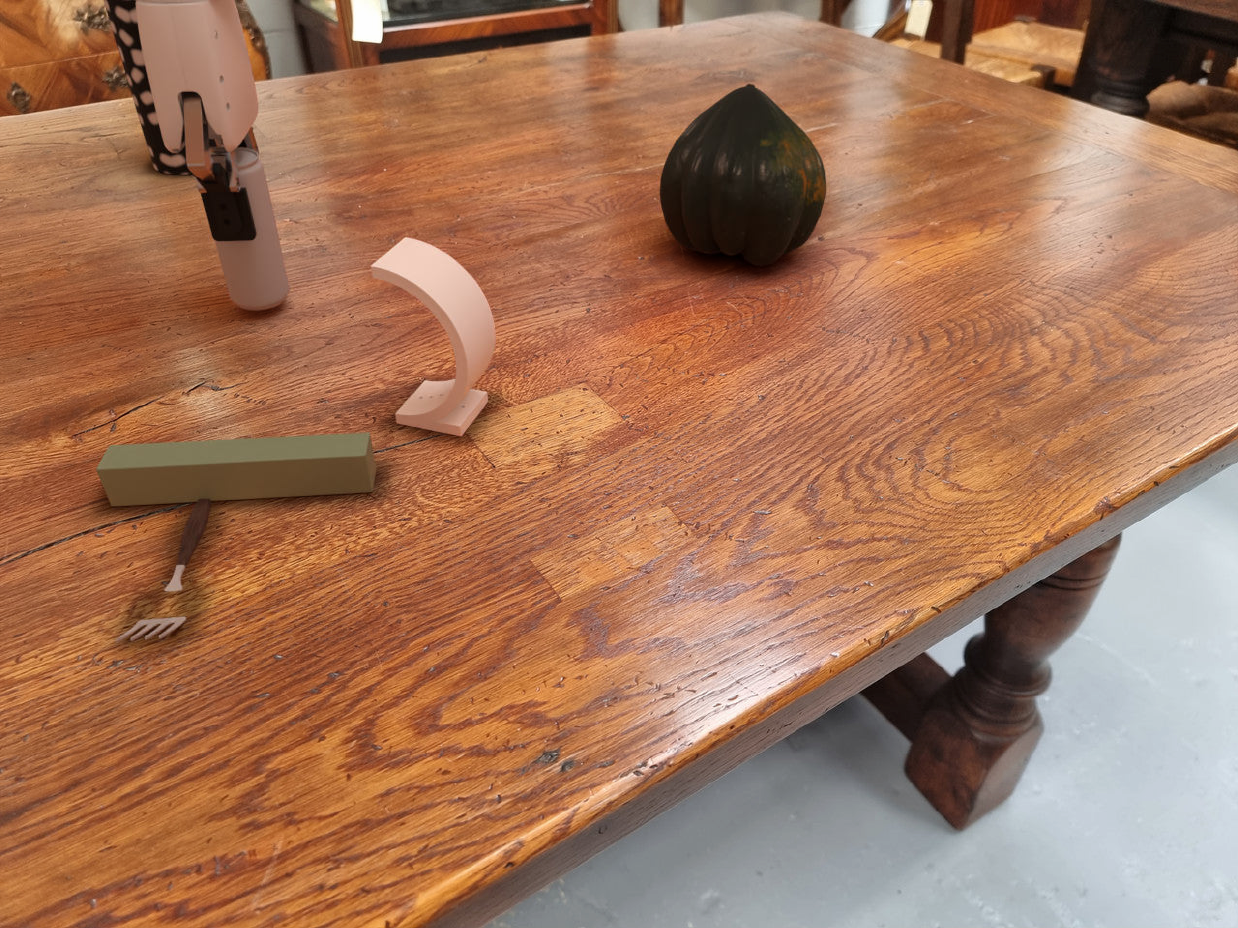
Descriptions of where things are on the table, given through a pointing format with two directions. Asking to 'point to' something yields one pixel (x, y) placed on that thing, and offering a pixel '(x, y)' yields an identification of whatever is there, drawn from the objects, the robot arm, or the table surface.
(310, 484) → the rail
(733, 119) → the squash
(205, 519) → the fork
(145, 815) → the table surface
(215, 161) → the beverage can
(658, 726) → the table surface
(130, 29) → the spotted tube
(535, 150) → the table surface
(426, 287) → the headphone stand
